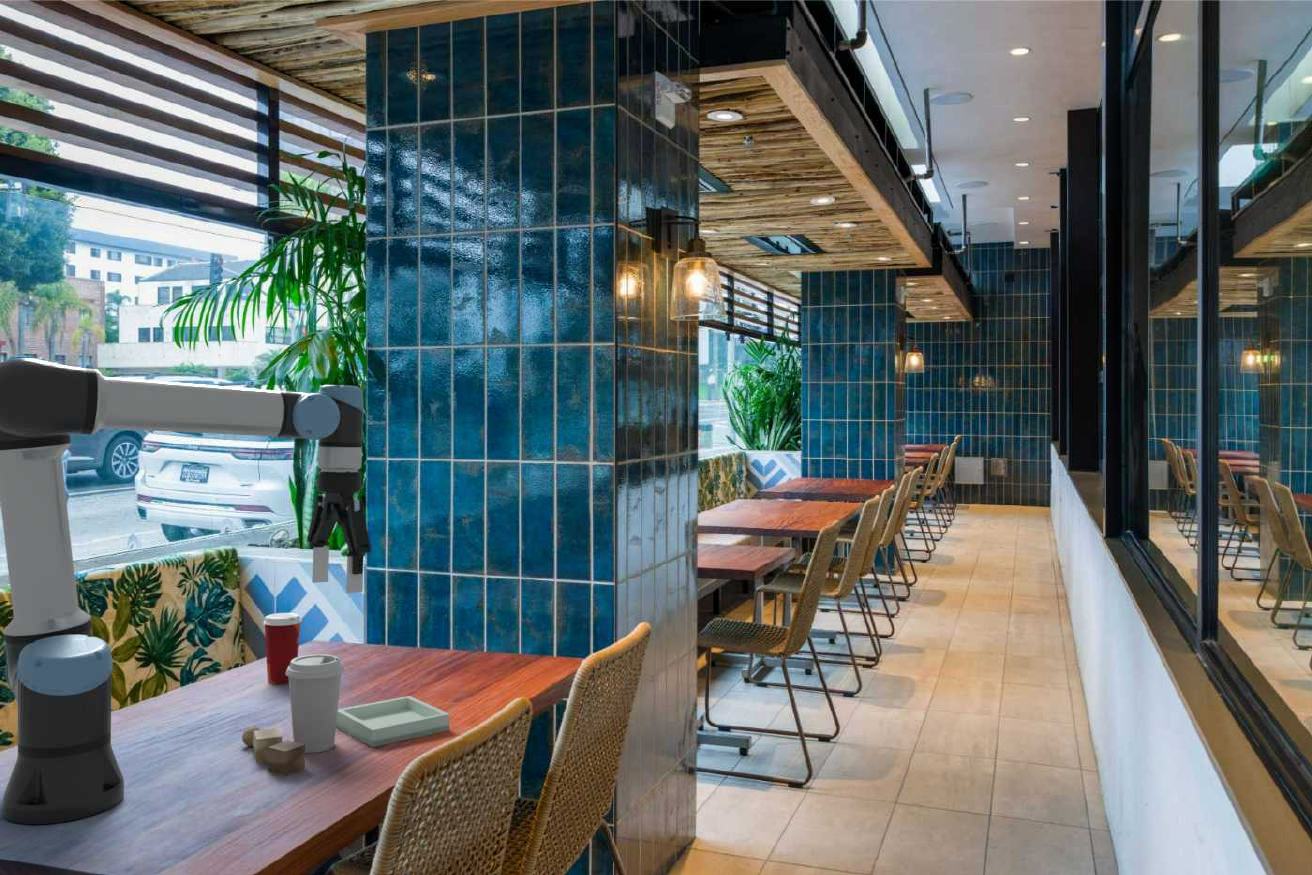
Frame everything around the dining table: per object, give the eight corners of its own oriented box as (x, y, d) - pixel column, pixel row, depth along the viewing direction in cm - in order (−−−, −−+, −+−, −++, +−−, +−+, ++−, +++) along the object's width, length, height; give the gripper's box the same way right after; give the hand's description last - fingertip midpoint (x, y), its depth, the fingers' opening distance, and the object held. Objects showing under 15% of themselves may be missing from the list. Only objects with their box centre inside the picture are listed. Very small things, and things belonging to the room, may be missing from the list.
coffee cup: (325, 758, 166) (326, 668, 166) (273, 753, 168) (274, 664, 167) (353, 740, 175) (354, 655, 175) (304, 735, 177) (305, 651, 177)
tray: (372, 747, 172) (372, 729, 172) (334, 726, 183) (335, 709, 183) (449, 730, 182) (449, 713, 182) (409, 711, 193) (409, 695, 193)
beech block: (256, 763, 163) (256, 739, 163) (253, 754, 167) (253, 730, 167) (282, 760, 165) (282, 736, 165) (278, 751, 169) (278, 727, 169)
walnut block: (285, 776, 158) (285, 751, 157) (267, 771, 159) (267, 747, 159) (305, 768, 161) (305, 744, 161) (287, 764, 163) (287, 740, 163)
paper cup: (308, 679, 214) (309, 614, 214) (278, 687, 208) (278, 620, 207) (285, 674, 218) (285, 610, 218) (254, 681, 212) (255, 616, 212)
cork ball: (245, 750, 169) (246, 731, 169) (239, 745, 171) (239, 726, 171) (264, 746, 171) (265, 727, 171) (258, 741, 174) (258, 723, 174)
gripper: (392, 473, 175) (389, 594, 175) (328, 466, 193) (325, 576, 193) (352, 474, 170) (349, 598, 170) (290, 467, 188) (287, 579, 188)
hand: (336, 587), depth 182 cm, fingers open, 13 cm apart
